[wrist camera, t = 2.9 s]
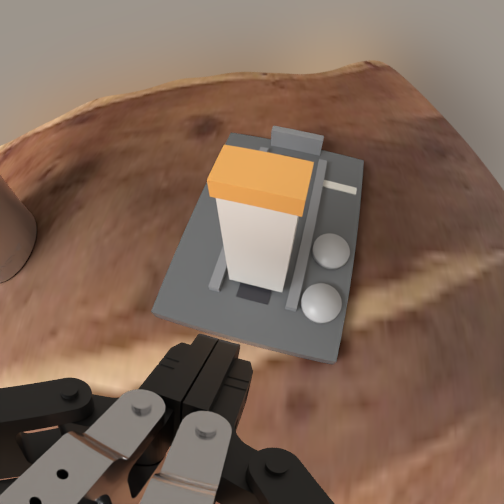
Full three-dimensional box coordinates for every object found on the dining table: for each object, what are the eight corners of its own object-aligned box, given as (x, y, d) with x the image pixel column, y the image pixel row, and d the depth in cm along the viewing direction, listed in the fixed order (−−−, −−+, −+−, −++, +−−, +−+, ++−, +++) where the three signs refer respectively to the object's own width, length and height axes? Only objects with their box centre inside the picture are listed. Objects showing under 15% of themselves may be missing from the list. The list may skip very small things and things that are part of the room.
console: (332, 364, 22) (343, 357, 20) (155, 316, 24) (143, 302, 21) (360, 168, 32) (368, 146, 29) (231, 140, 33) (229, 118, 31)
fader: (284, 295, 23) (305, 200, 13) (226, 281, 24) (206, 180, 14) (291, 266, 24) (314, 161, 15) (235, 253, 25) (223, 144, 15)
